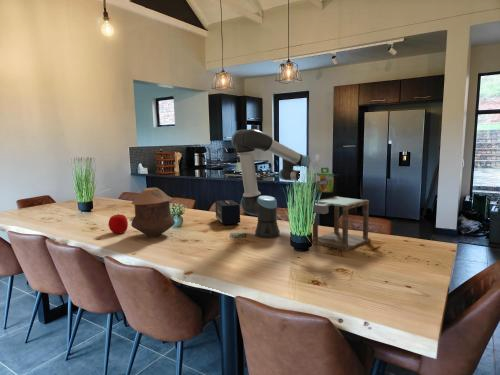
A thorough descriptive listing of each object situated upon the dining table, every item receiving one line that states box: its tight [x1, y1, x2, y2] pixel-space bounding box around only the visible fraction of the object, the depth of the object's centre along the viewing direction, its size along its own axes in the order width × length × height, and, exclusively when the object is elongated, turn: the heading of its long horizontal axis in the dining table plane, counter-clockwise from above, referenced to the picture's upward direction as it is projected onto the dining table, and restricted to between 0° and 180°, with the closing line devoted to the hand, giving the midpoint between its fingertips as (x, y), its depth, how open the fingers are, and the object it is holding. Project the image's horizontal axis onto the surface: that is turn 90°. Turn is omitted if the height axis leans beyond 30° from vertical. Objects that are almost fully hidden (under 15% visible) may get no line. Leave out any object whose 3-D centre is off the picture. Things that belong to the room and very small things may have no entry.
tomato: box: [108, 213, 129, 235], centre depth 220 cm, size 12×12×13 cm
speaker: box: [215, 199, 241, 226], centre depth 243 cm, size 22×13×15 cm, turn 17°
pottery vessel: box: [130, 187, 176, 238], centre depth 211 cm, size 26×26×30 cm
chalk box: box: [316, 167, 335, 193], centre depth 211 cm, size 9×9×15 cm
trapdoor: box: [314, 196, 363, 215], centre depth 184 cm, size 36×16×4 cm, turn 132°
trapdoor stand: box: [311, 195, 371, 252], centre depth 191 cm, size 25×23×24 cm
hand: (326, 177), depth 211 cm, fingers closed on chalk box, 12 cm apart
